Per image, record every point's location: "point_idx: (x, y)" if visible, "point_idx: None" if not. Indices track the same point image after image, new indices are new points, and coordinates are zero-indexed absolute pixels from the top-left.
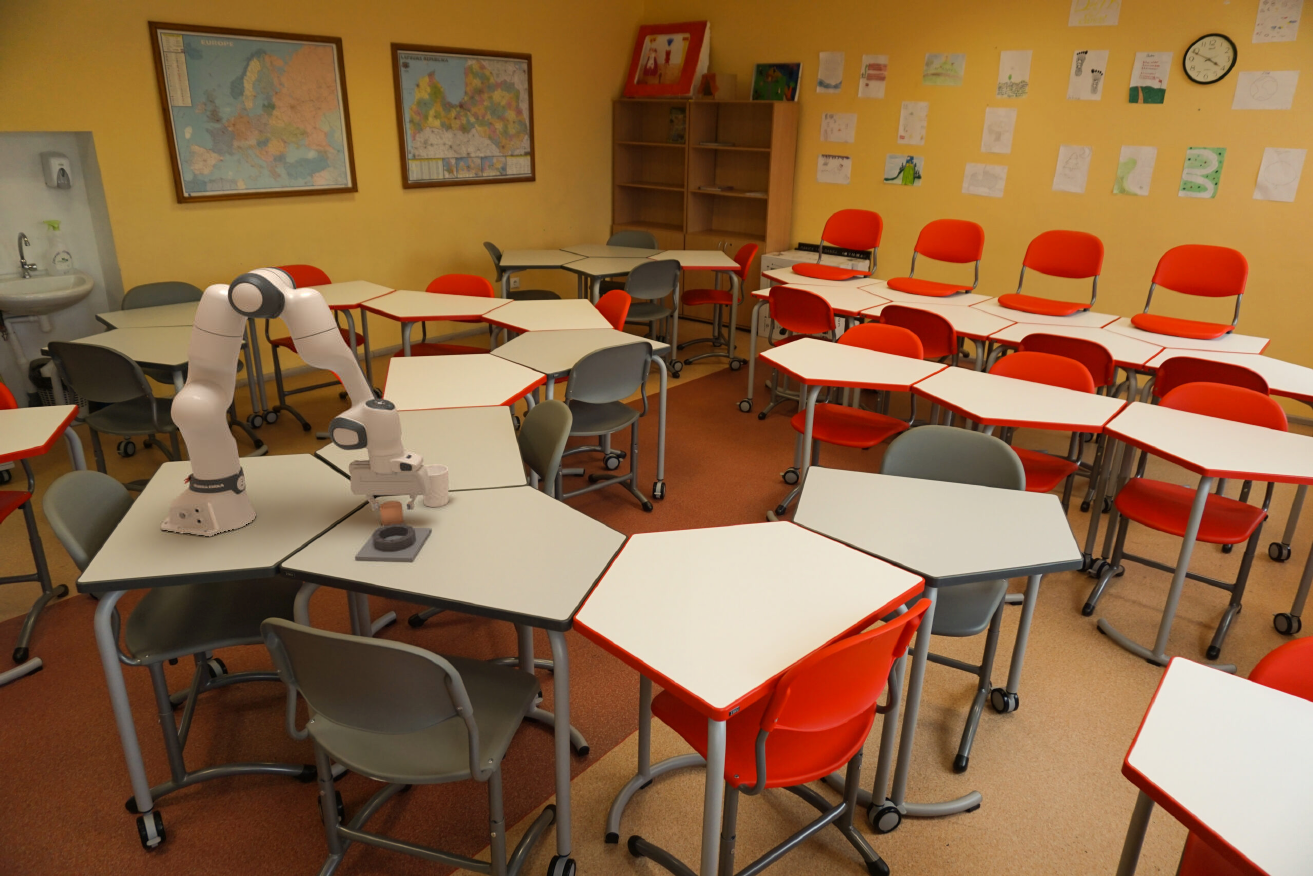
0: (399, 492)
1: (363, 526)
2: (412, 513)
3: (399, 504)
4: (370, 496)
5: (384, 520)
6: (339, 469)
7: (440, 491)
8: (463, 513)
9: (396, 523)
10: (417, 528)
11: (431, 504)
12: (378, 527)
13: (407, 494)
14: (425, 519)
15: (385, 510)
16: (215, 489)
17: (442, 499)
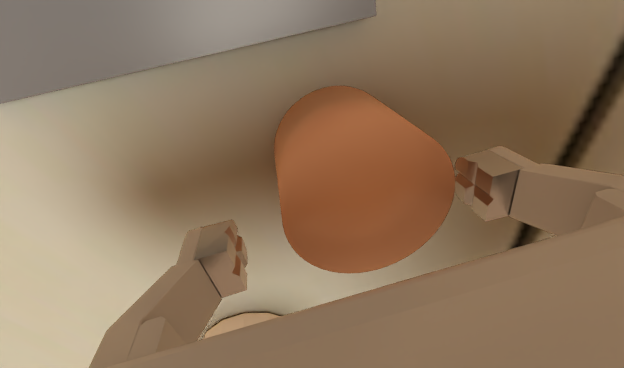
0: (257, 365)
1: (480, 45)
2: (287, 250)
3: (309, 241)
4: (617, 203)
5: (365, 97)
6: None
7: None
8: (52, 323)
9: (287, 117)
10: (66, 77)
11: (239, 325)
12: (370, 4)
13: (137, 366)
14: (180, 226)
15: (377, 122)
16: None
17: None
